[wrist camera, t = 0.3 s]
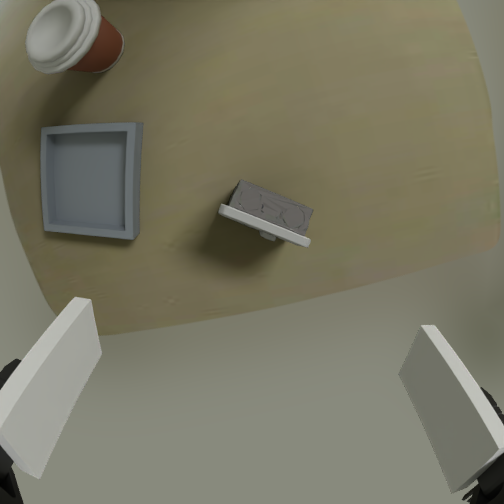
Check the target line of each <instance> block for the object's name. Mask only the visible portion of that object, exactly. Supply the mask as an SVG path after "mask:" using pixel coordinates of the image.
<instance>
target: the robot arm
mask: <svg viewBox="0 0 504 504" xmlns="http://www.w3.org/2000/svg"><path fill="white" fill-rule="evenodd" d="M101 355H102V351H101V347H100V343H99V338H98V333H97V328H96V324H95V319H94V313H93V308H92V302H91V299H85V298H79V297H74V298H73V299H72V301H71V302H70V303H69V304H68V305H67V306H66V307H65V309H64V310H63V311H62V312H61V313H60V314H59V316H58V317H57V318H56V319H55V320H54V322H53V323H52V324H51V325H50V326H49V328H48V329H47V330H46V331H45V332H44V333H43V335H42V336H41V337H40V338H39V340H38V341H37V342H36V343H35V345H34V346H33V347H32V348H31V350H30V351H29V352H28V353H27V355H26V356H25V357H24V359H23V360H22V361H21V360H19V359H15V360H13V361H12V362H11V363H9V364H8V365H6V366H5V367H4V368H3V370H2V371H1V372H0V504H23V500H22V497H21V494H20V491H19V488H18V485H17V481H16V478H15V474H14V472H13V470H12V468H11V466H12V464H13V462H14V463H15V464H17V466H18V467H19V468H20V469H21V470H22V471H24V472H26V473H28V474H30V475H32V476H34V477H36V478H38V479H40V478H41V475H42V473H43V470H44V468H45V466H46V463H47V461H48V459H49V457H50V455H51V452H52V450H53V448H54V446H55V444H56V442H57V439H58V437H59V435H60V433H61V431H62V429H63V427H64V425H65V423H66V421H67V419H68V417H69V415H70V413H71V411H72V409H73V407H74V405H75V403H76V401H77V399H78V397H79V395H80V393H81V392H82V390H83V387H84V386H85V384H86V382H87V380H88V378H89V377H90V375H91V373H92V371H93V369H94V367H95V366H96V364H97V362H98V360H99V358H100V357H101ZM399 376H400V378H401V380H402V382H403V384H404V386H405V388H406V390H407V392H408V395H409V397H410V399H411V401H412V403H413V405H414V407H415V409H416V412H417V413H418V416H419V418H420V420H421V422H422V425H423V427H424V429H425V431H426V433H427V436H428V438H429V440H430V442H431V445H432V447H433V449H434V452H435V454H436V456H437V459H438V461H439V464H440V466H441V468H442V471H443V473H444V476H445V478H446V481H447V483H448V486H449V489H450V491H451V493H454V492H457V491H460V490H462V489H464V488H467V487H468V486H469V485H470V484H471V483H472V482H474V481H475V480H476V479H477V480H478V483H479V484H477V485H476V486H475V487H474V488H473V489H472V490H470V491H469V492H468V493H467V494H465V495H464V497H463V499H462V500H465V499H467V498H468V497H469V496H470V495H472V497H471V498H470V499H469V500H468V501H467V502H470V504H504V415H503V414H502V411H501V410H500V408H499V407H497V404H496V402H495V401H494V399H493V398H492V396H491V395H490V394H489V393H488V392H487V391H485V390H484V389H483V388H482V387H481V388H480V387H479V386H478V384H477V383H476V381H475V380H474V379H473V377H472V376H471V374H470V373H469V371H468V370H467V368H466V367H465V366H464V364H463V363H462V361H461V360H460V359H459V357H458V356H457V354H456V353H455V352H454V350H453V349H452V348H451V346H450V345H449V344H448V342H447V341H446V340H445V338H444V337H443V336H442V334H441V333H440V332H439V330H438V329H437V328H436V326H435V325H421V326H420V328H419V330H418V333H417V335H416V337H415V340H414V342H413V344H412V347H411V349H410V351H409V353H408V355H407V357H406V359H405V361H404V364H403V366H402V368H401V370H400V372H399Z"/></svg>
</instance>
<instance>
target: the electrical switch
mask: <svg viewBox="0 0 504 504" xmlns="http://www.w3.org/2000/svg"><path fill="white" fill-rule="evenodd" d="M239 182H240V183H239ZM239 182H238V184H237V186H236V187H235V189H234V191H233V194H232V196H230V201H229V203H228V206H227V205H224V204H221V205H220V208H219V212H218V213H219V214H220V215H222V216H224V217H227V218H229V219H232V220H234V221H236V222H239V223H240V224H243V225H245V226H248V227H250V228H253V229H257V230H259V233H260V236H262V237H264V238H266V239H268V240H271V241H275V239H276V237H277V238H280V239H282V240H285V241H287V242H290V243H292V244H295V245H298V246H303V247H307V248H308V246H309V244H310V242H311V240H310V239H309V238H307V237H304V236H305V233H306V230H307V228H308V225H309V220H310V217H311V215H312V212H313V209H311V208H309V207H307V206H304V205H302V204H300V203H297V202H295V201H293V200H290V199H288V198H286V197H283V196H281V195H278V194H276V193H274V192H271V191H269V190H266V189H264V188H262V187H259V186H257V185H254V184H252V183H249V182H247V181H244V180H242V179H241V181H239ZM238 185H239V186H238ZM297 206H298V207H299V208H298V207H297Z"/></svg>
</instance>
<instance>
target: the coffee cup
mask: <svg viewBox="0 0 504 504" xmlns="http://www.w3.org/2000/svg"><path fill="white" fill-rule="evenodd" d="M25 43H26V52H27V54H28V59H29V61H30V63H31V64H32V66H33V67H34V68H35V70H37V71H40V72H43V73H45V74H54V73H61V72H64V71H65V70H74V71H84V72H92V73H100V72H104V71H106V70H108V69H110V68H112V67H113V66H114V65H115V64H116V63H117V62H118V61H119V59H120V57H121V56H122V54H123V51H124V46H125V42H124V37H123V35H122V34H121V33H120V32H119V31H118V30H117V29H116V28H115V27H114V26H112V25H111V24H110V23H109V22H108V21H107V20H106V19H105V18H104V17H103V16H102V15H101V13H100V7H99V5H98V4H97V3H96V2H95V1H94V0H55V1H53V2H51V3H50V4H48V5H47V6H45V7H44V8H43V9H42V10H41V11H40V12H39V13H38V15H37V16H36V17H35V18H34V20H33V21H32V23H31V25H30V27H29V29H28V32H27V37H26V41H25Z"/></svg>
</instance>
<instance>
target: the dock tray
mask: <svg viewBox="0 0 504 504" xmlns="http://www.w3.org/2000/svg"><path fill="white" fill-rule="evenodd" d="M142 134H143V123H96V124H78V125H64V126H53V127H43V128H41V195H42V211H43V222H44V231H53V232H62V233H72V234H82V235H92V236H101V237H111V238H121V239H131V240H133V239H134V238H135V237H136V236H137V235H138V234H139V233H140V230H139V206H140V168H141V149H142Z"/></svg>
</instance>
